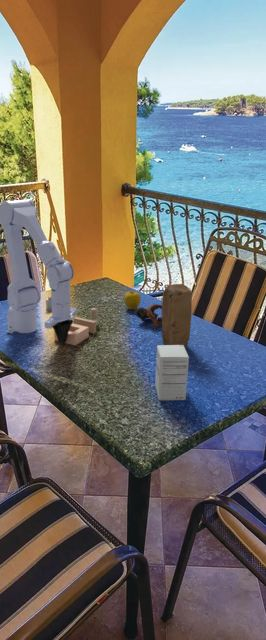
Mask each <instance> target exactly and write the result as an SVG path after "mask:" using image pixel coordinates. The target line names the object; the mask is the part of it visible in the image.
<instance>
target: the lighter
mask: <svg viewBox="0 0 266 640" xmlns="http://www.w3.org/2000/svg"><path fill="white" fill-rule="evenodd" d="M45 305H46V306H45V309H46V311H52V300H51V295H50V296H48V298H46V299H45Z"/></svg>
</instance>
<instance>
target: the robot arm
mask: <svg viewBox="0 0 266 640" xmlns="http://www.w3.org/2000/svg"><path fill="white" fill-rule="evenodd" d="M37 215H38V210H37V208H36V206H35V204H34V202H33V201H32V199H30V198H25V199H20V200H19V199H17V200H3V201H2V202H1V203H0V226H1V228H2V229H3V233H4V239H5V244H6V250H7V255H8V259H9V264H10V270H11V274H12V279H13V280H12V281H11V283H10V284H9V285H8V286H7V288H6V289H7V303H8V305H9V308H8V309H7V312H6V320H7V329H8V330H6V333H9V334H13V333H15V332H17V333H20V334H31V333H34V332H36V331H37V330H38V325H37V324H38V323H37V321H38V320H37V307H38V306H39V305H38V304H39V303H40V301H41V298H42V296H41V292H40V289H39V287H38V284H37V282H36V281H35V280H34V279H32V278H30V273H29V267H28V262H27V258H26V257H27V256H26V252H25V246H24V242H23V240H24V239H23V234H22V229H23V228H25V230H26V232H27V233H28V235H29V236H30V238H31V239H32V240H33V242H34V244H36V246H37V248H36V253H37V255H38V257H39V259H40V260H41V262H42V264H43V265H44V267H45V268H46V272H45V276H46V279H47V280H48V286H49V289H50V293H51V295H50V296H51V300H52V310H51V315H50V316H49V317H48V319H47V320H46V321H44V328H45V329H50V330H51V329H53V330H55V333H56V335H57V338H58V341H57V342H58V343H61V344H66V343H65V342H66V340H67V335H68V332H69V329H70V327H71V325H72V324H74V316H77V315H78V309H77V308H76V307H71V280H72V279H73V278H74V274H75V272H74V268H73V265H72V263H71V262H69V261H67V260H66V258H63V257H62V255H61V254H60V252H59V250H58V249H57V247H56V245H55V244H54V242H52V241H49V240H48V238H47V237H46V235H45V232H44V230H43V228H42V226H41V224H40V223H39V220H38V218H37Z"/></svg>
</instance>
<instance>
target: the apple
mask: <svg viewBox="0 0 266 640" xmlns="http://www.w3.org/2000/svg"><path fill="white" fill-rule="evenodd" d="M123 299H124V304H125V306H126V308H127V309H128V310H132V311H133V310H134V311H136V310H137V308H139V306H140V303H141V295H140V293H139V292H137V291H131V290H130V289H129V290H128V291H127V292H126V293H125V295H124V298H123Z"/></svg>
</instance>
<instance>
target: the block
mask: <svg viewBox="0 0 266 640" xmlns="http://www.w3.org/2000/svg"><path fill="white" fill-rule="evenodd" d="M192 297H193V296H192V290H191V288H189V287H188V286H187V285H185V284H182V283H173V284H168V285H167V286H166V287H165V289H164V290H163V293H162V299H161V305H162V309H161V318H162V326H161V339H162V342H163V345H184V347H185V348H186V347H187V346H188V344H189V341H190V337H191V324H192V311H193V308H192V306H193V305H192V303H193V301H192V299H193V298H192Z"/></svg>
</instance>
